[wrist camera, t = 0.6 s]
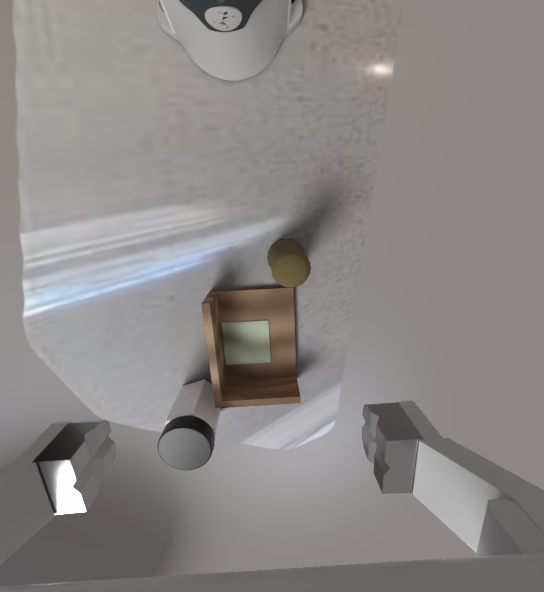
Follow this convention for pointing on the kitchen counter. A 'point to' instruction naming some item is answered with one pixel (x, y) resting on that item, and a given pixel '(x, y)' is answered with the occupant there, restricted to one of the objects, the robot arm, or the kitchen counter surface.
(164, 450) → the jar
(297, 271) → the olive pepper mill
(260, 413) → the kitchen counter surface
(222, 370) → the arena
